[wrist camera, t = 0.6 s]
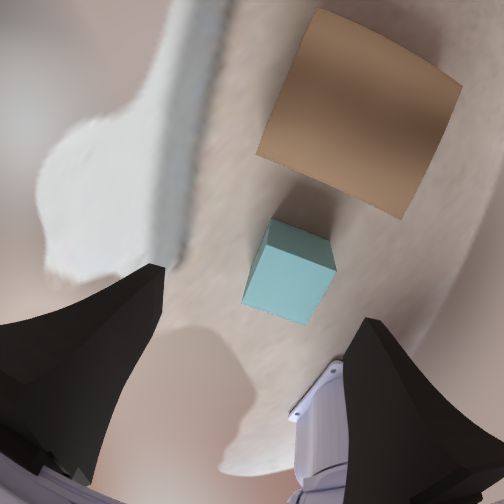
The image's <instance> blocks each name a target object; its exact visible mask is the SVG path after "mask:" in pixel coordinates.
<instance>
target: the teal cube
mask: <svg viewBox="0 0 504 504" xmlns="http://www.w3.org/2000/svg"><path fill="white" fill-rule="evenodd" d="M336 272H337V271H336V266H335V262H334V257H333V253H332V249H331V245H330V241H328V240H326V239H323V238H321V237H318V236H316V235H313V234H311V233H308V232H306V231H303V230H301V229H298V228H296V227H293V226H291V225H288V224H285V223H283V222H280V221H278V220H275V219H272V218H271V220H270V223H269V225H268V228H267V230H266V232H265V235H264V237H263V240H262V242H261V245H260V247H259V250H258V252H257V254H256V257H255V259H254V262H253V264H252V267H251V269H250V272H249V276H248V280H247V284H246V287H245V291H244V295H243V299H242V304H244V305H247V306H250V307H253V308H256V309H258V310H261V311H264V312H267V313H270V314H273V315H275V316H278V317H281V318H284V319H287V320H290V321H293V322H296V323H299V324H302V325H306V324H307V322H308V320H309V319H310V317H311V315H312V314H313V312H314V310H315V309H316V307H317V305H318V303H319V302H320V300H321V298H322V297H323V295H324V293H325V291H326V290H327V288H328V286H329V284H330V283H331V281H332V279H333V277H334V275H335V274H336Z"/></svg>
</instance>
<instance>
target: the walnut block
mask: <svg viewBox="0 0 504 504" xmlns="http://www.w3.org/2000/svg"><path fill="white" fill-rule="evenodd" d="M462 87H463V86H462V85H461V84H459V83H458V82H456V81H455V80H454V79H452V78H451V77H449V76H448V75H447V74H445V73H444V72H442V71H441V70H439V69H438V68H436V67H435V66H433V65H432V64H430V63H429V62H427V61H425V60H424V59H422V58H421V57H419V56H417V55H416V54H414V53H412V52H411V51H409V50H407V49H406V48H404V47H402V46H400V45H399V44H397V43H395V42H393V41H391V40H389V39H388V38H386V37H384V36H382V35H380V34H378V33H376V32H374V31H372V30H370V29H368V28H366V27H364V26H362V25H359V24H357V23H355V22H353V21H351V20H348V19H346V18H344V17H341V16H339V15H337V14H334V13H332V12H329V11H327V10H324V9H322V8H319V7H317V8H316V10H315V13H314V15H313V17H312V19H311V22H310V24H309V26H308V29H307V31H306V33H305V35H304V38H303V40H302V42H301V45H300V47H299V49H298V52H297V54H296V56H295V59H294V61H293V63H292V66H291V68H290V70H289V73H288V75H287V78H286V80H285V82H284V85H283V87H282V90H281V92H280V95H279V97H278V99H277V102H276V104H275V107H274V109H273V112H272V114H271V117H270V119H269V121H268V124H267V126H266V129H265V131H264V134H263V136H262V139H261V141H260V144H259V147H258V149H257V152H256V154H255V155H258V156H260V157H263V158H265V159H268V160H271V161H273V162H276V163H278V164H280V165H283V166H285V167H288V168H290V169H293V170H295V171H297V172H300V173H302V174H304V175H307V176H309V177H311V178H314V179H316V180H318V181H320V182H323V183H325V184H327V185H329V186H332V187H334V188H336V189H338V190H340V191H343V192H345V193H347V194H349V195H351V196H353V197H355V198H357V199H360V200H362V201H364V202H366V203H368V204H370V205H372V206H374V207H376V208H378V209H380V210H382V211H384V212H386V213H388V214H390V215H392V216H394V217H396V218H398V219H400V220H401V219H402V217H403V216H404V214H405V212H406V210H407V208H408V206H409V204H410V202H411V200H412V199H413V197H414V195H415V193H416V191H417V189H418V187H419V185H420V183H421V181H422V179H423V177H424V175H425V173H426V171H427V169H428V166H429V164H430V162H431V160H432V158H433V156H434V154H435V152H436V149H437V147H438V145H439V143H440V141H441V138H442V136H443V134H444V131H445V129H446V127H447V124H448V122H449V120H450V117H451V115H452V112H453V110H454V107H455V105H456V102H457V100H458V97H459V95H460V92H461V89H462Z"/></svg>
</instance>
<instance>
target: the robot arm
mask: <svg viewBox="0 0 504 504" xmlns="http://www.w3.org/2000/svg"><path fill="white" fill-rule="evenodd" d="M164 278H165V268H164V267H161V266H157V265H154V264H150V263H149V264H147V265H145V266H143V267H142V268H140V269H138V270H137V271H135V272H133V273H131V274H130V275H128V276H126V277H125V278H123V279H121V280H119V281H118V282H116V283H114V284H112V285H111V286H109V287H107V288H105V289H103V290H101V291H99V292H97V293H95V294H93V295H91V296H89V297H88V298H86V299H84V300H81V301H79V302H77V303H74V304H72V305H70V306H67V307H65V308H62V309H59V310H57V311H54V312H51V313H48V314H45V315H41V316H38V317H35V318H32V319H28V320H23V321H20V322H15V323H10V324H4V325H0V504H125V503H123V502H120V501H117V500H115V499H112V498H110V497H107V496H105V495H103V494H100V493H98V492H96V491H94V490H91V489H89V488H87V487H85V486H88V485H91V483H92V479H93V475H94V471H95V467H96V463H97V459H98V456H99V453H100V449H101V446H102V443H103V439H104V437H105V433H106V431H107V428H108V425H109V422H110V419H111V417H112V414H113V411H114V409H115V406H116V404H117V401H118V399H119V396H120V394H121V391H122V389H123V387H124V385H125V383H126V381H127V380H128V378H129V376H130V374H131V372H132V371H133V369H134V367H135V365H136V363H137V362H138V360H139V358H140V357H141V355H142V353H143V351H144V350H145V348H146V346H147V344H148V343H149V341H150V339H151V337H152V336H153V333H154V331H155V329H156V326H157V324H158V321H159V319H160V316H161V314H162V306H163V291H164ZM332 369H335V370H332ZM288 420H290V421H293V422H297V423H296V443H295V461H294V472H295V476H296V478H297V480H298V482H299V484H300V485H301V486H302V487H303V489H299V490H297V491H295V492H294V493H293V494H292V496H291V497H290V498H289V499H288V501H287V503H286V504H477V503H479V502H481V501H482V499H483V497H482V493H481V492H483V491H484V490H486V489H487V488H489V487H490V486H492V485H493V484H495V483H496V482H498V481H499V480H501V479H502V478H503V477H504V442H502V441H501V440H499V439H497V438H495V437H494V436H492V435H490V434H489V433H487V432H486V431H484V430H483V429H481V428H480V427H479V426H477V425H476V424H474V423H473V422H472V421H471V420H469V419H468V418H467V417H466V416H464V415H463V414H462V413H461V412H460V411H459V410H457V409H456V408H455V407H454V406H453V405H452V404H450V402H449V401H447V400H446V399H445V398H444V396H443V395H442V394H441V393H439V391H437V389H436V388H435V387H434V386H433V385H432V384H431V383H430V382H429V381H428V379H427V378H426V377H425V376H424V375H423V373H422V372H421V371H420V370H419V369H418V367H417V366H416V365H415V364H414V363H413V361H412V360H411V359H410V357H409V356H408V355H407V353H406V352H405V351H404V350H403V348H402V347H401V346H400V344H399V343H398V342H397V340H396V339H395V338H394V337H393V335H392V334H391V333H390V331H389V330H388V329H387V328H386V327H385V325H384V324H383V323H382V322H381V321H380V320H376V319H371V318H367V317H365V319H364V321H363V322H362V324H361V326H360V328H359V330H358V331H357V333H356V335H355V337H354V339H353V340H352V342H351V344H350V346H349V347H348V349H347V351H346V352H345V354H344V356H343V362H342V361H338V360H336V361H333V362H331V364H330V365H329V366H328V368H327V369H326V370H325V371H324V373H323V374H322V375H321V377H320V378H319V379H318V380H317V382H316V383H315V384H314V385H313V387H312V388H311V389H310V390H309V392H308V393H307V394H306V395H305V396H304V398H303V399H302V400H301V401H300V402H299V404H298V405H297V406H296V407H295V408H294V409H293V411H292V412H291V413H290V414H289V415H288ZM492 504H504V500H500V501H498V502H495V503H492Z"/></svg>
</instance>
